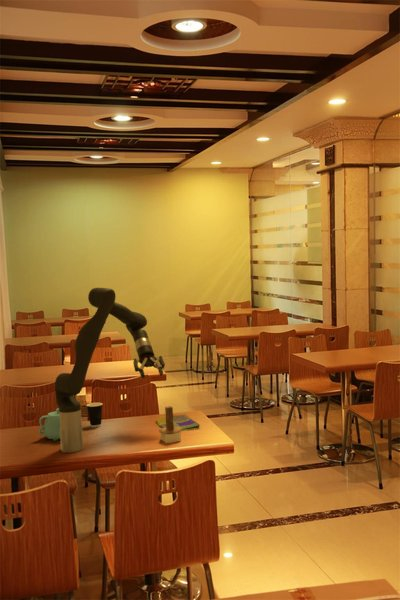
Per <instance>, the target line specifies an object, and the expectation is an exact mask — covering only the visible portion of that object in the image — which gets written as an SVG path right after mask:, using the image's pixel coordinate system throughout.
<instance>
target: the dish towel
mask: <svg viewBox="0 0 400 600" xmlns="http://www.w3.org/2000/svg"><path fill="white" fill-rule="evenodd" d="M155 423H156V425H158V427H160V428H159V429H161V428H165V427H166V416H161V417H158V418H157V419H155ZM173 425H174V427H179V428H181V431H180V432H185V431H184V430H187V431H194V429H195V430H200V424H199V423H198V422H196V421H195V420H193V419H192V418H191V417H190V416H188V415H187V414H185V413H184V414H179V415H178V414H177V415H173Z"/></svg>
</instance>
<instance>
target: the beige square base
mask: <svg viewBox="0 0 400 600" xmlns="http://www.w3.org/2000/svg"><path fill="white" fill-rule="evenodd" d="M181 432H182V431H180V432H178V433H175V434H162V433H160V440H161V441H162V442H164V443H165V444H169V443H175V442H181V441H182V437H181Z"/></svg>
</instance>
